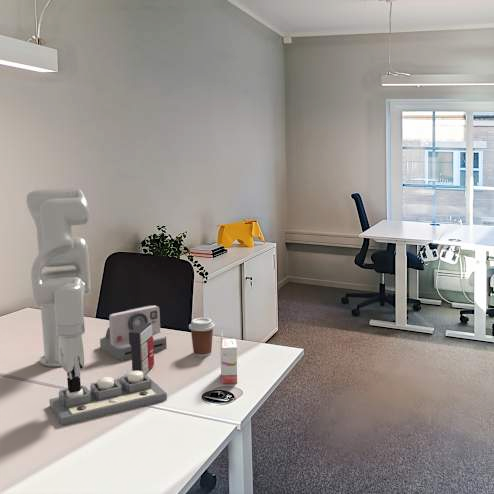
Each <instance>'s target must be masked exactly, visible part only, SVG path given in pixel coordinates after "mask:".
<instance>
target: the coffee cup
mask: <svg viewBox="0 0 494 494" xmlns="http://www.w3.org/2000/svg"><path fill="white" fill-rule="evenodd" d="M215 328H216V326H215V323H214V322H212V319H211V318H208V317H198V318H193V319H192V320H191V323H190V324H189V325H188V329H189V330H190V335H191V343H192V350H193V351H192V352H193V355H194V356H197V357H207V356H210V355H212V353H213V352H212V350H213V333H214V329H215Z"/></svg>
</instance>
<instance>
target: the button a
mask: <svg viewBox="0 0 494 494" xmlns="http://www.w3.org/2000/svg"><path fill="white" fill-rule="evenodd" d="M80 395H83V389H81V390H80V391H76V392H72V393H70V392H69V391H68V390H67V391H66V397H67V398H71V397H75V396H80Z"/></svg>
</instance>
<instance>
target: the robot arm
mask: <svg viewBox="0 0 494 494" xmlns="http://www.w3.org/2000/svg"><path fill="white" fill-rule="evenodd" d="M26 206H27V209H28V212H29V214H30V216H31V218H32V220H33V221H34V224H35V227H36V234H37V235H36V237H37V251H38V255H37V256H36V258H35V259H34V261H33V263H32V266H31V272H30V277H31V278H30V279H31V289H32V297H33V300H34V302H35V304H36V305H37V306H39V307H40V314H41V326H42V327H41V328H42V339H43V340H42V341H43V356H41V357H40V359H39V363H40V365H42V366H44V367H50V368H51V367H52V368H53V367H55V368H57V367H62V368H63V370H64V371H65V372H66V380H67V389H68V391H69V392H70V393H72V392H76V391H80V390H81V386H82V385H81V384H82V383H81V370H84V369H85V354H84V341H83V335H84V334H85V331H86V329H85V315H84V297H85V296H86V295H88V294H89V293H90V291H91V271H90V270H91V269H90V268H91V267H90V255H89V247H88V244H87V241H86V240H85V239H84V238H83V237H79V236H74V237H73V232H72V231H73V230H72V226H83V225H87V224H88V222H89V221H90V217H91V216H90V215H91V214H90V206H89V203H88V201H87V198H86V196H85V194H84V192H83V190H81V189H80V188H75V187H73V188H43V189H36V190H32V191H29V192H28V194H27V195H26ZM71 266H74V267H75V268H69V269H56V270H55V269H54V270H47V271H43V269H44V268H57V267H59V268H60V267H61V268H62V267H71ZM42 271H43V272H42Z"/></svg>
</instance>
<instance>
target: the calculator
mask: <svg viewBox="0 0 494 494" xmlns="http://www.w3.org/2000/svg"><path fill="white" fill-rule="evenodd" d="M129 344H130V346H131V353H132V358H131V371H142V372H143V373H144V374H146V375H147V373H148V372H149V371H150V370H151V369H152V368H153V367H154V366H155V352H154V347H153V337H152V325H151V323H140V324H139V325H138V326H136V327H135V328H134V329H133V330H131V331H130V332H129Z"/></svg>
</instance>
